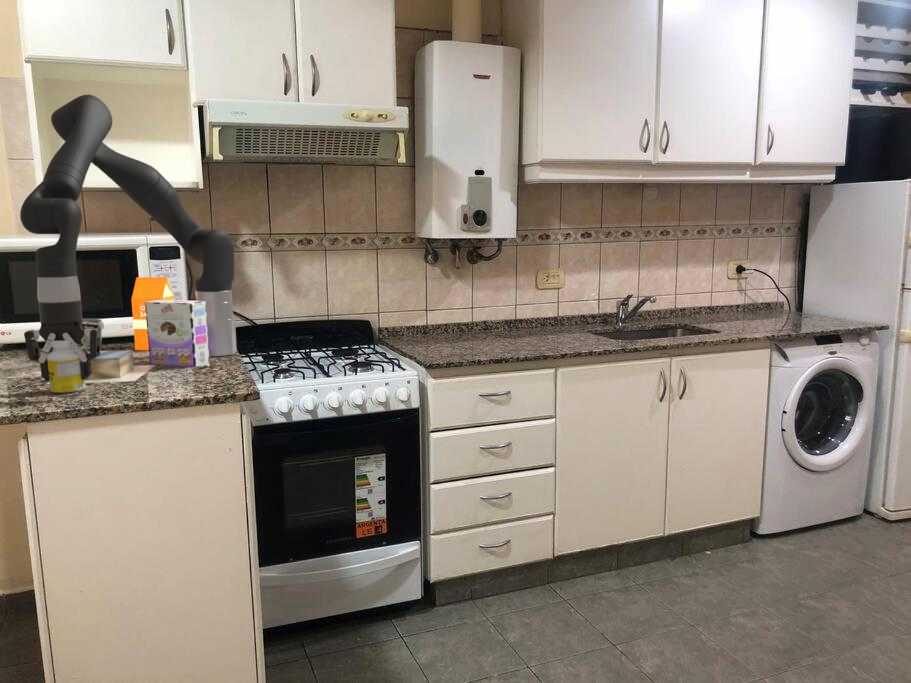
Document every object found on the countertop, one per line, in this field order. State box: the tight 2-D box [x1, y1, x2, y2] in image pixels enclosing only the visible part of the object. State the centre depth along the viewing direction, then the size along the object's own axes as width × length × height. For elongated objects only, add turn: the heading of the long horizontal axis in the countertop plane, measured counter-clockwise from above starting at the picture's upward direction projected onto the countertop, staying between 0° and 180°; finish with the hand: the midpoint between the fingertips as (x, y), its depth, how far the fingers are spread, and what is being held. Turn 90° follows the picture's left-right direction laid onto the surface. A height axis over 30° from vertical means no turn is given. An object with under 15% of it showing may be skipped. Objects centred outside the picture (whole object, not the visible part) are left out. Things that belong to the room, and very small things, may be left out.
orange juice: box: [131, 276, 175, 351], centre depth 201 cm, size 8×9×20 cm
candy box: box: [145, 299, 210, 370], centre depth 174 cm, size 14×6×16 cm, turn 71°
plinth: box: [88, 349, 135, 379], centre depth 162 cm, size 10×10×4 cm
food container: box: [81, 318, 105, 351], centre depth 188 cm, size 12×6×10 cm, turn 84°
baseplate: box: [45, 364, 157, 385], centre depth 163 cm, size 18×18×1 cm
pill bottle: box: [47, 340, 87, 399], centre depth 146 cm, size 6×6×12 cm
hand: (67, 379), depth 147 cm, fingers closed on pill bottle, 6 cm apart
